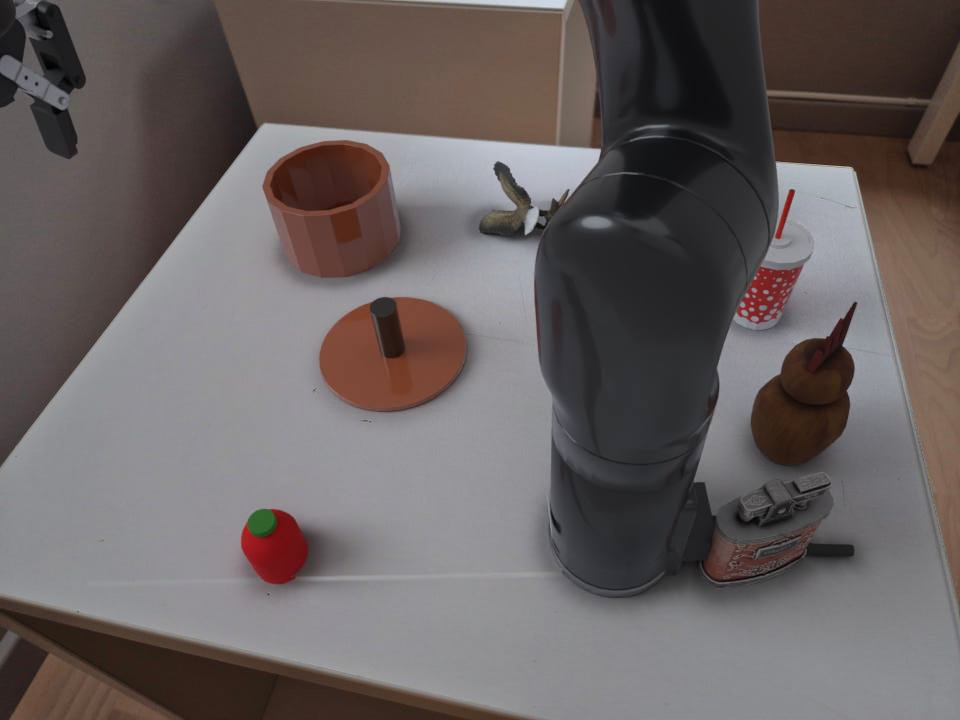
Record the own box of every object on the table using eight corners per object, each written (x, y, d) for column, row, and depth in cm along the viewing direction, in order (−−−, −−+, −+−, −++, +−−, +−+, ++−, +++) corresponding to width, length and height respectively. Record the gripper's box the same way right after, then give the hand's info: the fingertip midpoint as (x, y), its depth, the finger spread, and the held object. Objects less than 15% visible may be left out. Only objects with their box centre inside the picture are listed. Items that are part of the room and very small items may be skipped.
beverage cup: (735, 281, 74) (768, 160, 63) (797, 304, 71) (843, 182, 61) (710, 320, 70) (740, 199, 60) (774, 345, 68) (818, 224, 57)
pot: (404, 202, 85) (393, 137, 79) (396, 278, 77) (382, 212, 70) (295, 207, 86) (275, 143, 79) (275, 283, 78) (251, 218, 71)
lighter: (711, 597, 53) (740, 530, 46) (689, 555, 55) (713, 484, 48) (813, 564, 54) (857, 493, 47) (787, 524, 56) (826, 450, 49)
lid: (468, 302, 74) (463, 251, 69) (465, 413, 65) (459, 363, 60) (332, 308, 75) (317, 257, 70) (311, 418, 66) (292, 369, 61)
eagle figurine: (572, 201, 82) (498, 171, 83) (569, 179, 75) (489, 145, 76) (541, 264, 81) (468, 232, 83) (536, 247, 74) (456, 212, 76)
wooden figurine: (798, 405, 64) (853, 274, 52) (843, 458, 60) (913, 330, 49) (728, 431, 62) (770, 303, 51) (770, 487, 59) (825, 362, 47)
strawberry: (313, 532, 58) (295, 494, 54) (305, 583, 56) (285, 547, 51) (260, 533, 59) (238, 495, 54) (249, 584, 56) (225, 548, 52)
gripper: (-165, 14, 34) (-21, 270, 46) (65, -90, 42) (134, 150, 55) (-290, -35, 35) (-116, 227, 47) (-41, -126, 44) (50, 116, 56)
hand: (18, 185), depth 51 cm, fingers open, 8 cm apart
